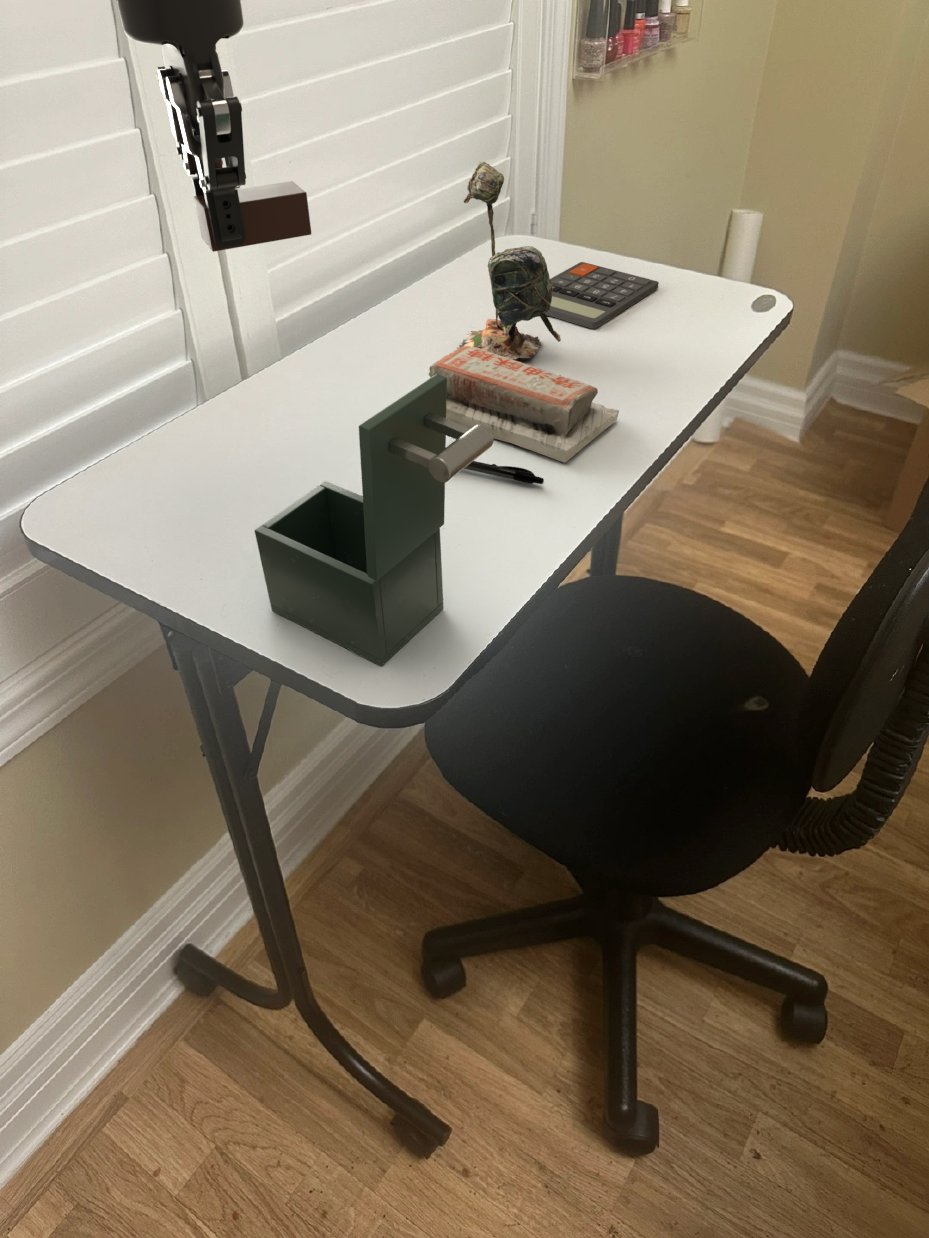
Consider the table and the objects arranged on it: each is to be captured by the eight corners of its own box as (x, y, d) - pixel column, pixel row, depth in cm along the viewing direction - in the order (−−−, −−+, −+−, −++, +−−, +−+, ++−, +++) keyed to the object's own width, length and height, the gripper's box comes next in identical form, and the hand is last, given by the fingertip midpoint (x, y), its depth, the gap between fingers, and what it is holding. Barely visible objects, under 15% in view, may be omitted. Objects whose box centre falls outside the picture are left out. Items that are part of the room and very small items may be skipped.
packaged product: (412, 367, 89) (472, 331, 95) (415, 411, 92) (473, 374, 98) (569, 420, 81) (624, 377, 86) (566, 466, 84) (619, 422, 90)
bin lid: (358, 425, 52) (434, 458, 49) (436, 373, 56) (509, 401, 54) (366, 576, 60) (432, 610, 57) (435, 520, 64) (498, 549, 62)
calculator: (660, 280, 113) (594, 321, 105) (659, 287, 114) (594, 329, 105) (581, 260, 119) (513, 297, 110) (581, 267, 119) (513, 305, 111)
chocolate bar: (201, 238, 67) (193, 196, 65) (298, 222, 70) (292, 180, 68) (212, 252, 65) (204, 208, 63) (312, 235, 67) (306, 192, 65)
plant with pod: (534, 378, 97) (542, 179, 83) (447, 354, 102) (440, 161, 88) (570, 349, 102) (583, 157, 88) (485, 327, 107) (485, 141, 93)
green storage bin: (271, 610, 70) (254, 529, 64) (336, 559, 74) (325, 480, 69) (381, 666, 65) (372, 584, 60) (444, 608, 69) (440, 527, 64)
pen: (547, 480, 82) (547, 469, 81) (540, 490, 81) (541, 479, 80) (409, 449, 86) (408, 439, 86) (401, 458, 85) (400, 447, 84)
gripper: (262, -50, 51) (303, 259, 63) (202, -68, 61) (247, 202, 72) (127, -41, 49) (195, 278, 60) (87, -62, 58) (152, 217, 70)
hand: (223, 235), depth 66 cm, fingers closed on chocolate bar, 3 cm apart
